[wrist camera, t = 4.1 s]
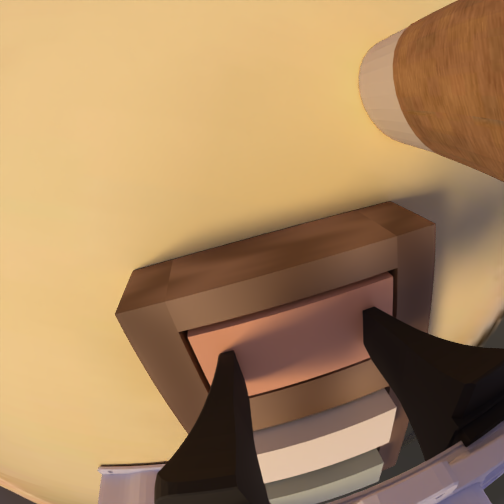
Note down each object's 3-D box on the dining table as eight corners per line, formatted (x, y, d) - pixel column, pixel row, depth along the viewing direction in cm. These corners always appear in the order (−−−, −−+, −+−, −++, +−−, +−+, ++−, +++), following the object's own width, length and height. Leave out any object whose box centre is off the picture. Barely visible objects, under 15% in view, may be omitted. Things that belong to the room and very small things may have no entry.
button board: (245, 477, 25) (251, 510, 21) (133, 270, 15) (115, 314, 11) (379, 436, 25) (394, 464, 22) (390, 201, 16) (435, 223, 12)
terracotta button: (214, 351, 18) (219, 403, 14) (189, 289, 16) (187, 337, 12) (359, 308, 18) (390, 349, 14) (354, 243, 16) (392, 276, 12)
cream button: (249, 439, 19) (258, 484, 16) (233, 406, 18) (241, 458, 14) (367, 402, 20) (389, 442, 16) (369, 363, 18) (396, 407, 14)
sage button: (269, 478, 23) (277, 513, 19) (259, 459, 21) (268, 499, 17) (363, 448, 23) (378, 481, 19) (365, 426, 21) (383, 462, 18)
